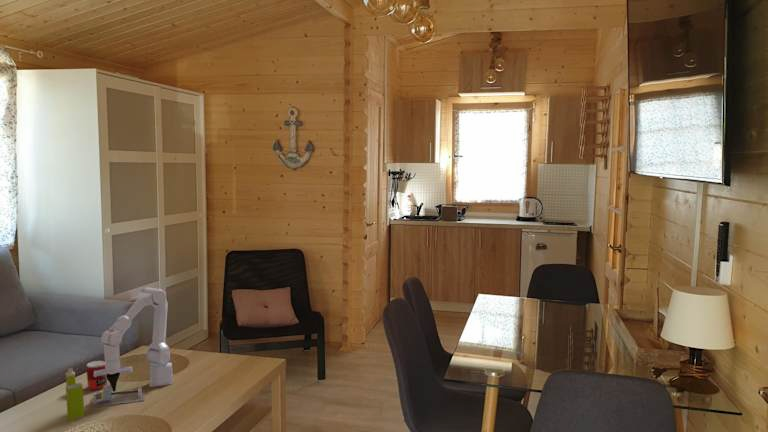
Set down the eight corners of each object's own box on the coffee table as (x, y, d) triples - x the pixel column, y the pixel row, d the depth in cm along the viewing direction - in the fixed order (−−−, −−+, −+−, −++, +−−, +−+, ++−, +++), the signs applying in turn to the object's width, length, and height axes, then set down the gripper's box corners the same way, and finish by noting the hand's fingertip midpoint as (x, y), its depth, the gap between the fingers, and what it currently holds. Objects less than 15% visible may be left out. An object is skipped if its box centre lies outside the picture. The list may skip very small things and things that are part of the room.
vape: (66, 418, 226) (62, 368, 225) (81, 413, 231) (78, 364, 229) (69, 420, 224) (66, 371, 222) (85, 415, 228) (82, 366, 227)
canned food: (99, 391, 253) (98, 366, 252) (83, 390, 255) (82, 365, 254) (111, 384, 261) (109, 361, 260) (95, 383, 262) (94, 360, 261)
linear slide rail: (145, 392, 251) (144, 382, 251) (144, 400, 242) (143, 391, 242) (91, 399, 244) (91, 389, 244) (88, 408, 235) (87, 398, 235)
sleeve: (112, 396, 244) (111, 384, 243) (111, 399, 241) (110, 387, 240) (104, 397, 243) (103, 385, 242) (103, 400, 240) (102, 388, 239)
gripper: (91, 364, 235) (93, 396, 236) (130, 360, 240) (132, 391, 241) (94, 359, 242) (96, 390, 243) (131, 354, 247) (133, 385, 248)
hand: (114, 390), depth 242 cm, fingers closed
